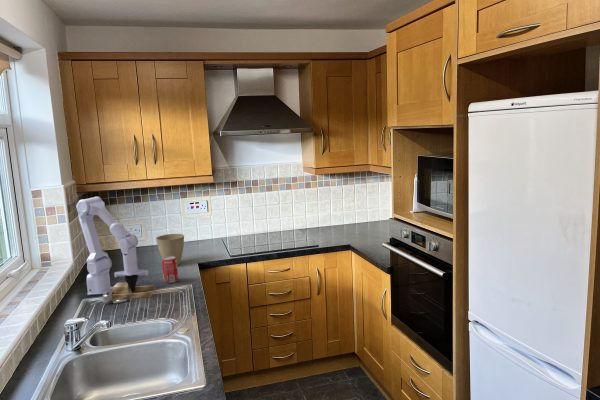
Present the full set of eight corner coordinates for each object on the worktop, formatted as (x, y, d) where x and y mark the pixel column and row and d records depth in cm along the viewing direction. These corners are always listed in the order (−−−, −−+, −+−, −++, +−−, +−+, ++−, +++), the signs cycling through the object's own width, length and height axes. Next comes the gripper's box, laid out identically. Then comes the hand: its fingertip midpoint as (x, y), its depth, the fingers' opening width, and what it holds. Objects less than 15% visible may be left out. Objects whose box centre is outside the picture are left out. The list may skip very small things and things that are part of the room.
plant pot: (188, 260, 258) (186, 232, 255) (183, 268, 243) (181, 239, 240) (161, 261, 257) (159, 234, 254) (155, 269, 242) (152, 240, 239)
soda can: (172, 278, 227) (171, 255, 225) (181, 280, 222) (179, 257, 220) (160, 282, 221) (158, 258, 220) (169, 284, 217) (167, 260, 215)
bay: (109, 299, 200) (108, 293, 200) (116, 291, 210) (115, 285, 210) (151, 297, 202) (150, 290, 201) (156, 289, 212) (155, 283, 211)
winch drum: (102, 304, 195) (101, 293, 194) (105, 300, 199) (104, 290, 198) (111, 303, 196) (110, 293, 195) (114, 300, 200) (113, 289, 199)
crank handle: (113, 304, 195) (112, 298, 195) (113, 303, 196) (112, 297, 196) (129, 301, 198) (129, 296, 197) (129, 300, 199) (129, 294, 199)
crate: (113, 298, 202) (112, 287, 201) (118, 293, 208) (116, 282, 207) (128, 297, 203) (126, 286, 202) (131, 292, 209) (130, 281, 208)
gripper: (110, 265, 199) (114, 295, 201) (144, 263, 200) (147, 293, 202) (115, 261, 206) (118, 289, 208) (148, 259, 207) (151, 287, 209)
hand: (133, 291), depth 206 cm, fingers closed
